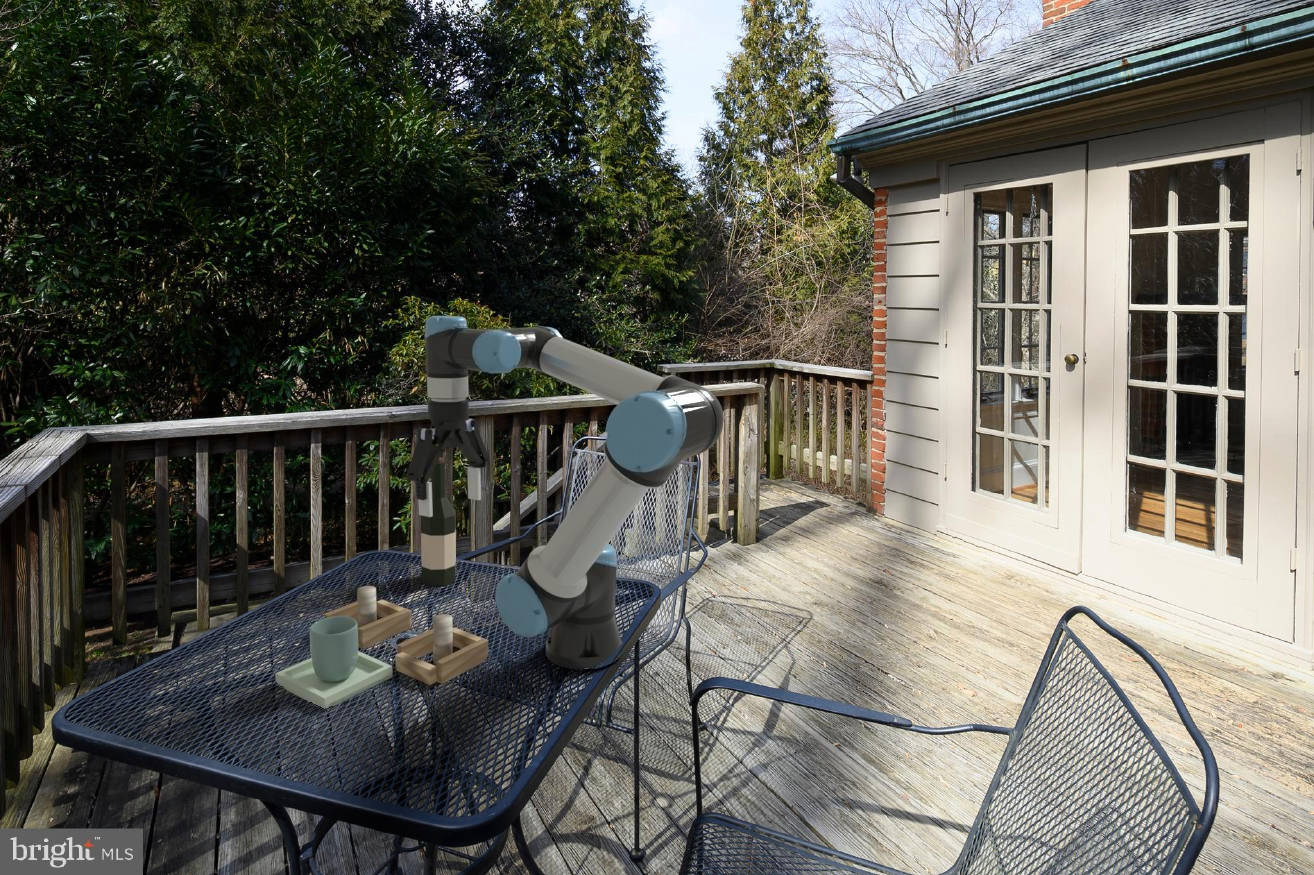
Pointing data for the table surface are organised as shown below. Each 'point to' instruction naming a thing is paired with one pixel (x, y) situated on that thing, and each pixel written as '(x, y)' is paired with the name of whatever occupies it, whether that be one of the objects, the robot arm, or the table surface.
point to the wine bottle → (439, 535)
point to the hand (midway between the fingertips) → (451, 507)
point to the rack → (415, 638)
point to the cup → (334, 647)
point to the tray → (332, 693)
